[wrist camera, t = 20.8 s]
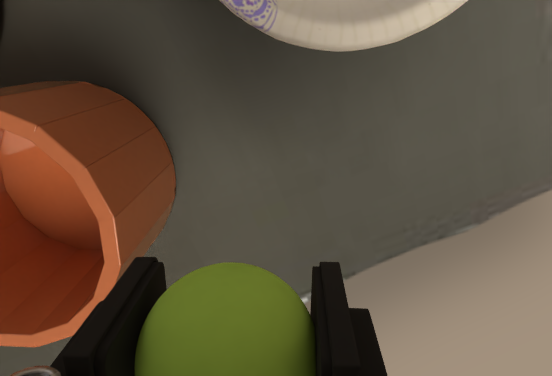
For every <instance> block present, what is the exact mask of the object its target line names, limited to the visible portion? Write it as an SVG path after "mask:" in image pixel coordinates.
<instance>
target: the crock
mask: <svg viewBox="0 0 552 376" xmlns="http://www.w3.org/2000/svg"><path fill="white" fill-rule="evenodd" d="M175 191H176V177H175V170H174V164H173V161H172V157H171V154H170V152H169V149H168V147H167V144H166V142H165V140H164V139H163V137H162V135H161V134H160V132H159V130H158V129H157V128H156V126H155V125H154V124H153V122H152V121H151V120H150V119H149V118H148V117H147V116H146V115H145V114H144V113H143V111H141V110H140V109H139V108H138V107H137V106H135V105H134V104H133V103H132V102H130V101H129V100H127V99H126V98H124V97H123V96H121V95H119V94H117V93H115V92H113V91H111V90H109V89H107V88H104V87H101V86H98V85H96V84H91V83H87V82H80V81H43V82H36V83H29V84H23V85H16V86H9V87H2V88H0V346H17V347H39V346H42V345H45V344H49V343H52V342H55V341H58V340H61V339H64V338H67V337H70V336H73V335H74V334H75V333H76V331H77V330H78V329H79V328H80V326H81V325H82V324H83V322H84V321H85V320H86V318H87V317H88V316H89V314H90V313H91V312H92V310H93V309H94V308H95V306H96V305H97V304H98V303H99V302H100V301H103V300H104V299H105V298H106V296H107V295H108V294H109V292H110V291H111V290H112V288H113V287H114V286H115V284H116V283H117V281H118V280H119V279H120V277H121V276H122V275H123V273H124V272H125V271H126V269H127V268H128V267H129V265H130V264H131V263H132V261H133V260H134V259H135V258H136V257H143V256H144V254H145V253H146V252H147V250H148V249H149V247H150V246H151V245H152V243H153V242H154V240H155V239H156V238H157V236H158V235H159V233H160V232H161V230H162V229H163V228H164V226H165V223H166V220H167V218H168V216H169V214H170V212H171V209H172V206H173V202H174V198H175Z"/></svg>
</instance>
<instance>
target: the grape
mask: <svg viewBox="0 0 552 376" xmlns="http://www.w3.org/2000/svg"><path fill="white" fill-rule="evenodd" d="M134 369H135V376H316V340H315V327H314V324H313V322H312V319H311V316H310V314H309V312H308V310H307V308H306V306H305V305H304V303H303V302H302V300H301V299H300V297H299V296H298V295H297V293H296V292H295V291H294V290H293V289H292V288H291V287H290V286H289V285H288V284H287V283H285V282H284V281H283V280H282V279H280V278H279V277H278V276H276V275H274V274H273V273H271V272H269V271H267V270H265V269H262V268H260V267H257V266H253V265H249V264H244V263H234V262H233V263H219V264H213V265H209V266H206V267H202V268H200V269H197V270H195V271H192V272H191V273H189V274H187V275H185V276H184V277H182V278H181V279H179V280H178V281H176V282H175V283H174V284H173V285H171V286H170V287H169V288H168V289H167V290H166V291H165V292H164V293H163V294H162V295H161V297H160V298H159V299H158V300H157V302H156V303H155V304H154V306H153V307H152V309H151V310H150V312H149V313H148V315H147V318H146V320H145V322H144V324H143V326H142V329H141V331H140V335H139V338H138V342H137V347H136V353H135V367H134Z"/></svg>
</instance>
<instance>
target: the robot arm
mask: <svg viewBox="0 0 552 376" xmlns="http://www.w3.org/2000/svg"><path fill="white" fill-rule="evenodd" d="M165 291H166V280H165V270H164V264H163V263H162V262H158V260H157V258H156V257H136V258H135V259H134V260H133V261H132V263H131V264H130V265H129V267H128V268H127V269H126V271H125V272H124V273H123V275H122V276H121V277H120V279H119V280H118V281H117V283H116V284H115V286H114V287H113V288H112V290H111V291H110V292H109V294H108V295H107V296H106V298H105V299H104V300H103V301H100V302H99V303H98V304H97V305H96V306H95V308H94V309H93V310H92V312H91V313H90V314H89V316H88V317H87V318H86V320H85V321H84V322H83V324H82V325H81V326H80V328H79V329H78V330H77V331H76V333H75V334H74V335H73V337H72V338H71V339H70V341H69V342H68V343H67V345H66V346H65V347H64V349H63V350H62V351H61V353H60V354H59V355H58V357H57V358H56V359H55V361H54V362H53V363H52V364H51V366H50V367H49V366H34V367H29V368H25V369H23V370H20V371H18V372H15V373H13V374H11V375H10V376H135V369H134V367H135V353H136V347H137V342H138V338H139V335H140V331H141V329H142V326H143V324H144V322H145V320H146V318H147V315H148V313H149V312H150V310H151V309H152V307H153V306H154V304H155V303H156V302H157V300H158V299H159V298H160V297H161V295H162V294H163V293H164V292H165ZM310 316H311V319H312V322H313V324H314V327H315V340H316V376H387V373H386V369H385V365H384V362H383V358H382V355H381V351H380V348H379V344H378V341H377V337H376V333H375V330H374V326H373V323H372V319H371V316H370V313H369V310H368V309H359V308H349V307H348V303H347V298H346V293H345V288H344V283H343V279H342V274H341V269H340V264H339V262H320V266H319V267H313V270H312V291H311V314H310Z"/></svg>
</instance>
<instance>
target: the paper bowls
mask: <svg viewBox="0 0 552 376" xmlns="http://www.w3.org/2000/svg"><path fill="white" fill-rule="evenodd" d="M220 1H221V2H222V3H223V4H224V5H225V6H226V7H227V8H228V9H229V10H230V11H231V12H233V13H234V14H235V15H236V16H237V17H239V18H241V19H242V20H244V21H245V22H246V23H248V24H249V25H251V26H253V27H255V28H256V29H258V30H260V31H261V32H263V33H265V34H267V35H269V36H271V37H273V38H275V39H277V40H281V41H283V42H286V43H289V44H293V45H297V46H300V47H305V48H310V49H317V50H326V51H338V52H340V51H354V50H362V49H368V48H373V47H378V46H382V45H386V44H390V43H394V42H397V41H400V40H402V39H404V38H406V37H409V36H411V35H413V34H415V33H418V32H420V31H422V30H424V29H426V28H428V27H430V26H431V25H433V24H435V23H437V22H438V21H440V20H442V19H443V18H445V17H446V16H448V15H449V14H451V13H452V12H454V11H455V10H456V9H458V8H459V7H461V6H462V5H463V4H464V3H465V2H467V1H468V0H220Z"/></svg>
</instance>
